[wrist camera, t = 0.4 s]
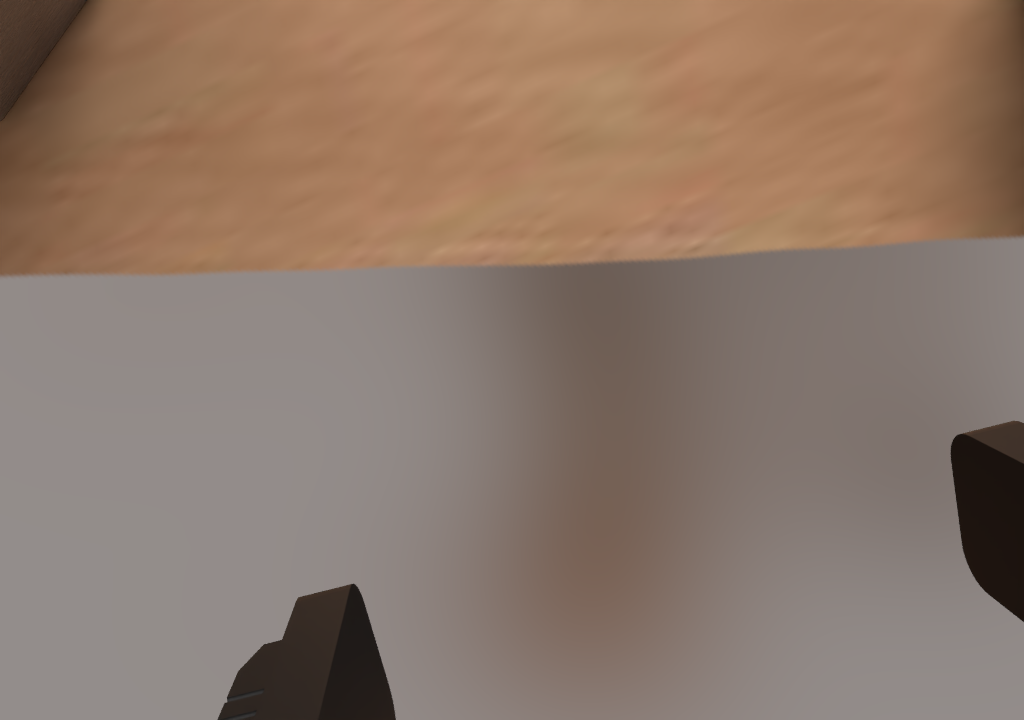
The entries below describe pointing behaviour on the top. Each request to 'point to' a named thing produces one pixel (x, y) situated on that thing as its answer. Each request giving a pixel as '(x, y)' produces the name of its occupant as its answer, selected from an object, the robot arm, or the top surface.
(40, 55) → the press
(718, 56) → the top surface
